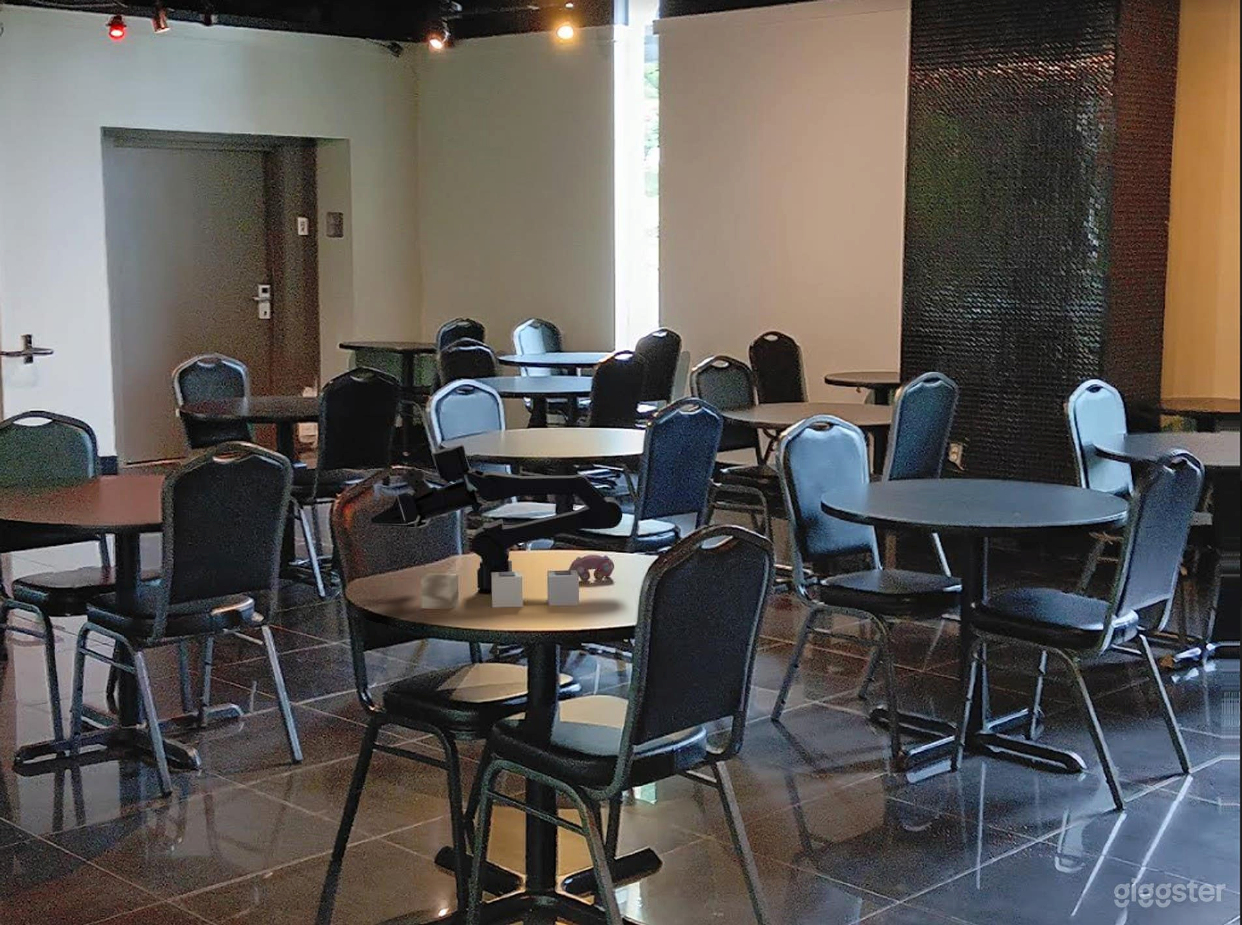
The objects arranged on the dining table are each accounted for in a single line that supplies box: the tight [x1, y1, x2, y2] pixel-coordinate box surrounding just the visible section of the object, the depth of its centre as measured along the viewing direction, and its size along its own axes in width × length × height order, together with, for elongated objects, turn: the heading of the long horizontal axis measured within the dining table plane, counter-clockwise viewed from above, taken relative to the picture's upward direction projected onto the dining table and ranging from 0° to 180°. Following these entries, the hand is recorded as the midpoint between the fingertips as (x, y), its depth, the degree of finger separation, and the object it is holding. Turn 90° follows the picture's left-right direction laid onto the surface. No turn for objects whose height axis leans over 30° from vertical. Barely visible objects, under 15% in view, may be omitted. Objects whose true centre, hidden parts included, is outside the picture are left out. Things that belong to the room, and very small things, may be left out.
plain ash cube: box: [420, 572, 459, 610], centre depth 309 cm, size 6×6×6 cm
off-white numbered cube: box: [491, 571, 524, 608], centre depth 311 cm, size 6×6×6 cm
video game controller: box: [568, 554, 615, 582], centre depth 334 cm, size 10×5×7 cm, turn 106°
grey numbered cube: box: [546, 569, 580, 607], centre depth 312 cm, size 6×6×6 cm
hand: (375, 522), depth 320 cm, fingers open, 9 cm apart
